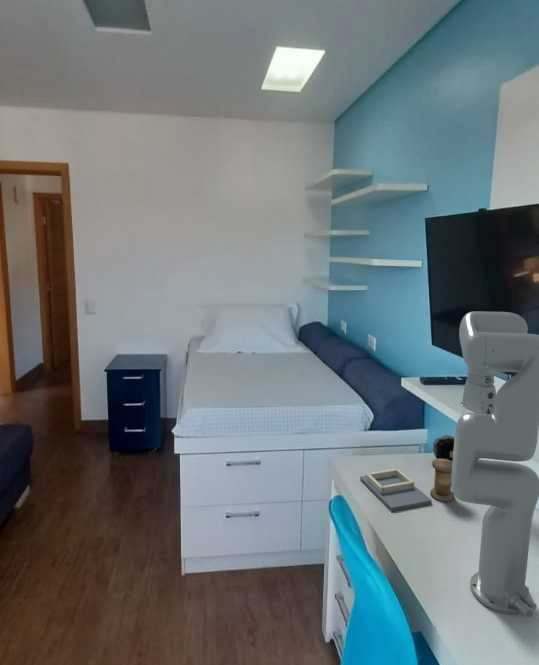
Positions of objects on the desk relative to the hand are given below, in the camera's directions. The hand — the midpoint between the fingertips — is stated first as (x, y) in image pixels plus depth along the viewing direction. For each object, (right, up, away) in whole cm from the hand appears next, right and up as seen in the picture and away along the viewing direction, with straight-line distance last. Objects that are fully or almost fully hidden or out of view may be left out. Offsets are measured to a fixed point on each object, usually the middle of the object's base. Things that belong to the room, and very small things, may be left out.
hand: (476, 433), depth 147 cm
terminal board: (-25, -20, +4) cm, 32 cm away
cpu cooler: (0, -16, +23) cm, 28 cm away
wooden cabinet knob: (-10, -20, +1) cm, 23 cm away
